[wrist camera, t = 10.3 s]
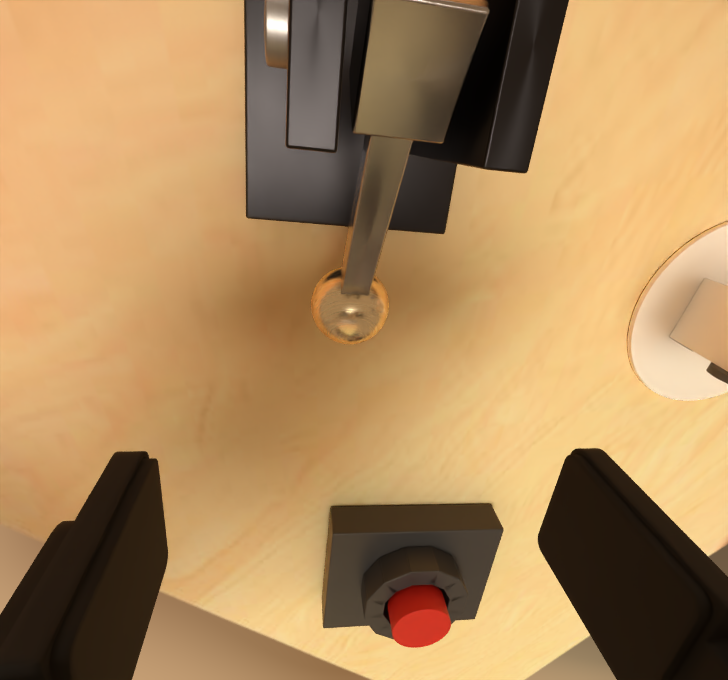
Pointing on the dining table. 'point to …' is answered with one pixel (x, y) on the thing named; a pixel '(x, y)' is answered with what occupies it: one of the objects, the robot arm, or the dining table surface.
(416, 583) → the push button box
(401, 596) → the stop button
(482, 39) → the switch bracket
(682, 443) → the dining table surface
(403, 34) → the lever
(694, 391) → the panda figurine
